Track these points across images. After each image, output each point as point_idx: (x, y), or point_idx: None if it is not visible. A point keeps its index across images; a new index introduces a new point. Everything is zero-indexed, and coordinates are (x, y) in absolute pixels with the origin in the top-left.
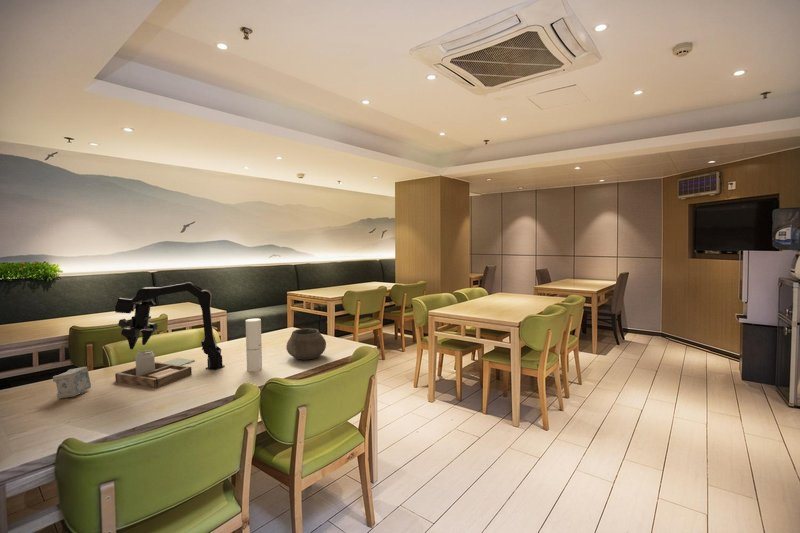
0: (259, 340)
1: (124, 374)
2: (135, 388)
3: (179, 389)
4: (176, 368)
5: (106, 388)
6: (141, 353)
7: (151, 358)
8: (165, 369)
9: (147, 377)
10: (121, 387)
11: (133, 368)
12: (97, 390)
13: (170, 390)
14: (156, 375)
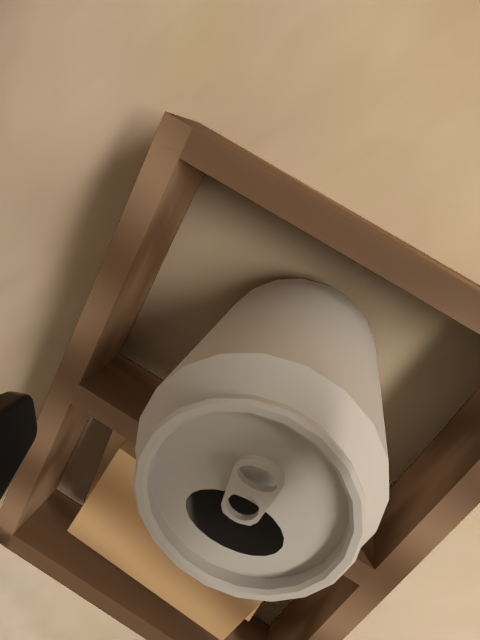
0: None
1: (121, 242)
2: (46, 364)
3: (28, 603)
4: (327, 599)
5: (50, 133)
6: (260, 445)
7: (216, 534)
8: None
9: (36, 471)
10: (67, 251)
11: (327, 242)
12: (10, 78)
13: (14, 565)
14: (113, 507)
